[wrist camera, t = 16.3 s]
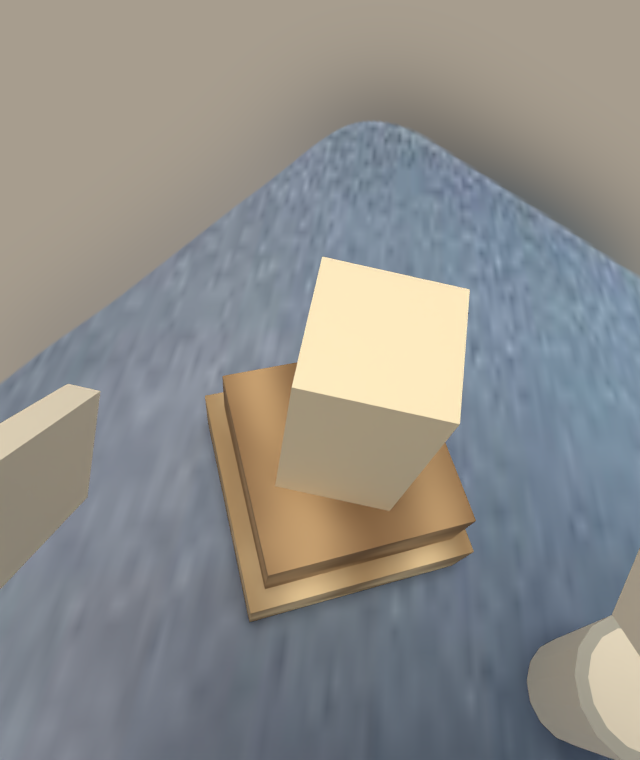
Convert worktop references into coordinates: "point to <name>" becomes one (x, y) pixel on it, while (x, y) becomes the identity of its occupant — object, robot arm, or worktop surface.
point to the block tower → (320, 510)
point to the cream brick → (373, 384)
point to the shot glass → (590, 690)
